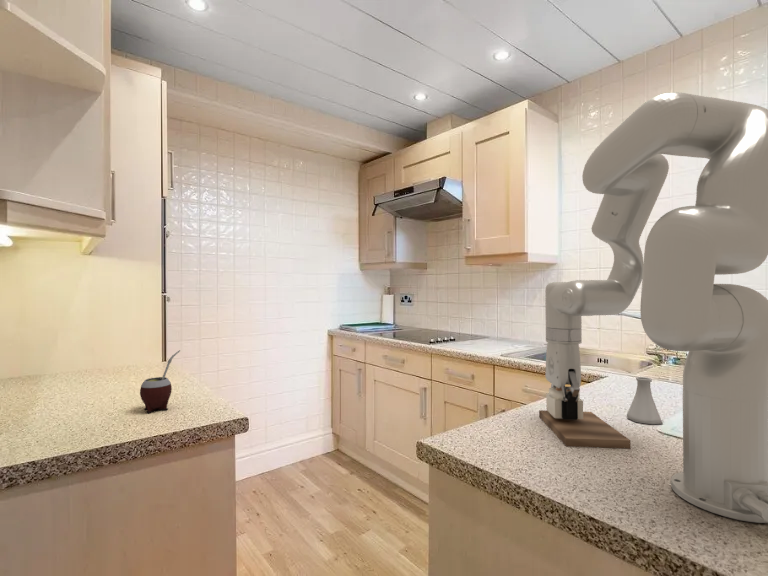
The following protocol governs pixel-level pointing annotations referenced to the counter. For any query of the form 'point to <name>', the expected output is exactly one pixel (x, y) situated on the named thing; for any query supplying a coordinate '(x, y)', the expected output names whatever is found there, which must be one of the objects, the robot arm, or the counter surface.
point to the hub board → (585, 431)
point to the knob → (559, 402)
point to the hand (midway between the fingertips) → (563, 413)
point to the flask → (644, 404)
